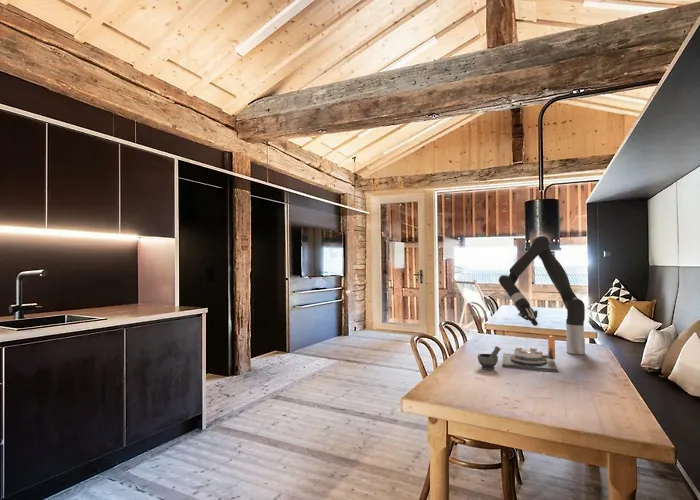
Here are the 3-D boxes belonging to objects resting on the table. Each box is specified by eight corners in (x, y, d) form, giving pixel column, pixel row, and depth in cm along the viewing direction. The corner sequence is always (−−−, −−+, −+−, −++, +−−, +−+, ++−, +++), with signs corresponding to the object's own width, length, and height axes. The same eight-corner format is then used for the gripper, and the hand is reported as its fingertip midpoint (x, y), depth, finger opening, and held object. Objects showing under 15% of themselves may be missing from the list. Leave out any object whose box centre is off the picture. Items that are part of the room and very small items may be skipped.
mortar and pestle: (478, 370, 198) (477, 347, 198) (477, 366, 207) (477, 343, 207) (501, 372, 195) (501, 348, 195) (500, 367, 204) (499, 344, 204)
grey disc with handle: (518, 360, 206) (518, 337, 207) (511, 354, 220) (511, 333, 220) (559, 361, 203) (559, 338, 203) (550, 355, 217) (549, 333, 217)
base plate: (553, 359, 219) (552, 354, 219) (557, 372, 195) (557, 366, 195) (503, 355, 229) (503, 350, 229) (502, 366, 205) (502, 361, 205)
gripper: (514, 298, 231) (530, 321, 219) (532, 297, 235) (548, 320, 223) (508, 306, 236) (523, 329, 224) (526, 305, 240) (542, 328, 228)
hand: (536, 324), depth 223 cm, fingers closed
